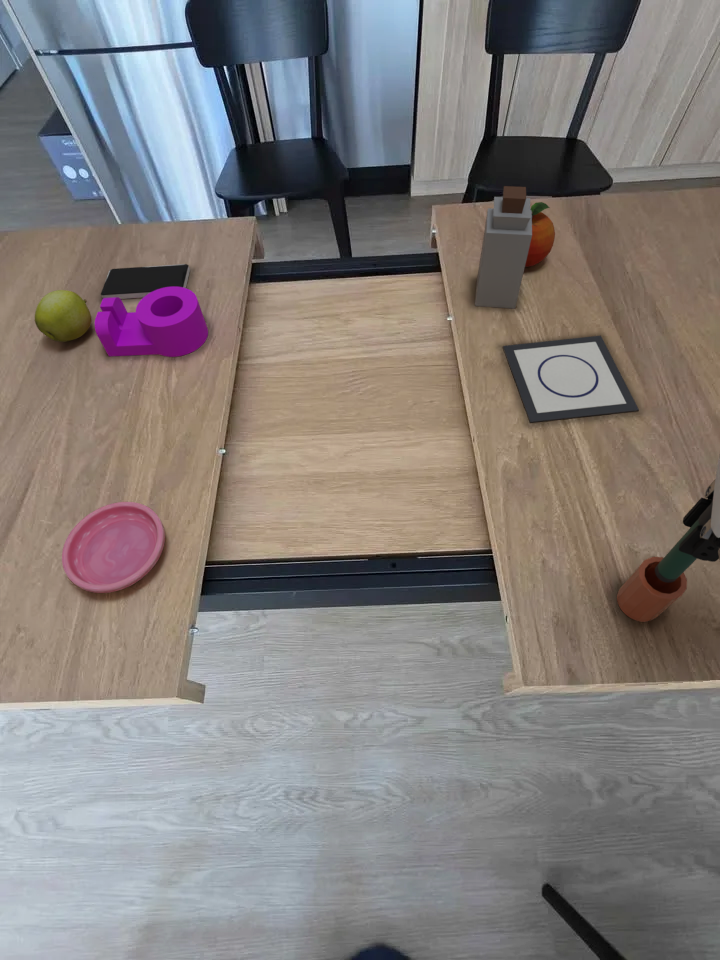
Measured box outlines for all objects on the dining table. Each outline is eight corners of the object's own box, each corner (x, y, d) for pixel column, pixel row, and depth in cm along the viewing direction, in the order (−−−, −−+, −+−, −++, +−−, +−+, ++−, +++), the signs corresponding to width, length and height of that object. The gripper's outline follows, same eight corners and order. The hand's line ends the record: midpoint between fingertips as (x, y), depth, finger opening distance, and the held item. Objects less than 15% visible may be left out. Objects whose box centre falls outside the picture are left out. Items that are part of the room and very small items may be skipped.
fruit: (485, 253, 103) (493, 201, 95) (528, 238, 105) (540, 186, 97) (514, 281, 98) (525, 229, 90) (558, 266, 100) (574, 213, 92)
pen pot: (650, 580, 66) (675, 553, 60) (667, 619, 63) (695, 596, 57) (610, 584, 66) (631, 558, 60) (625, 624, 63) (649, 601, 57)
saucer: (64, 537, 73) (52, 525, 70) (156, 498, 76) (147, 485, 73) (83, 617, 66) (71, 608, 64) (182, 572, 69) (174, 561, 67)
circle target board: (600, 336, 89) (601, 334, 89) (638, 411, 80) (639, 409, 80) (502, 347, 89) (503, 345, 89) (529, 423, 80) (530, 421, 80)
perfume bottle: (515, 308, 94) (538, 206, 79) (475, 305, 95) (490, 203, 80) (515, 283, 98) (537, 181, 83) (476, 281, 99) (492, 179, 84)
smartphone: (110, 268, 104) (188, 263, 103) (112, 273, 105) (190, 268, 104) (99, 295, 99) (182, 290, 99) (102, 301, 100) (184, 296, 100)
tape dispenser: (211, 315, 96) (201, 285, 91) (203, 355, 91) (192, 325, 86) (121, 319, 97) (106, 289, 92) (107, 359, 91) (90, 330, 86)
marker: (671, 562, 59) (733, 496, 48) (681, 582, 57) (746, 518, 47) (650, 564, 59) (706, 499, 48) (659, 584, 57) (719, 522, 47)
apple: (110, 323, 96) (90, 284, 90) (75, 357, 92) (51, 319, 85) (76, 312, 99) (53, 273, 92) (40, 345, 94) (14, 307, 87)
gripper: (903, 529, 32) (734, 633, 47) (885, 347, 40) (746, 487, 55) (759, 486, 34) (642, 600, 49) (770, 321, 42) (666, 463, 57)
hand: (698, 539), depth 52 cm, fingers closed on marker, 2 cm apart
